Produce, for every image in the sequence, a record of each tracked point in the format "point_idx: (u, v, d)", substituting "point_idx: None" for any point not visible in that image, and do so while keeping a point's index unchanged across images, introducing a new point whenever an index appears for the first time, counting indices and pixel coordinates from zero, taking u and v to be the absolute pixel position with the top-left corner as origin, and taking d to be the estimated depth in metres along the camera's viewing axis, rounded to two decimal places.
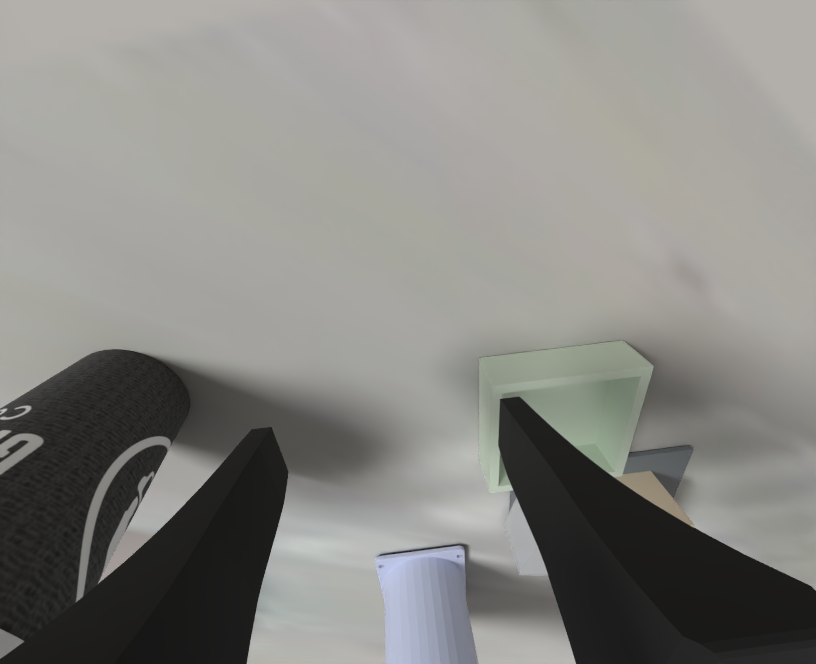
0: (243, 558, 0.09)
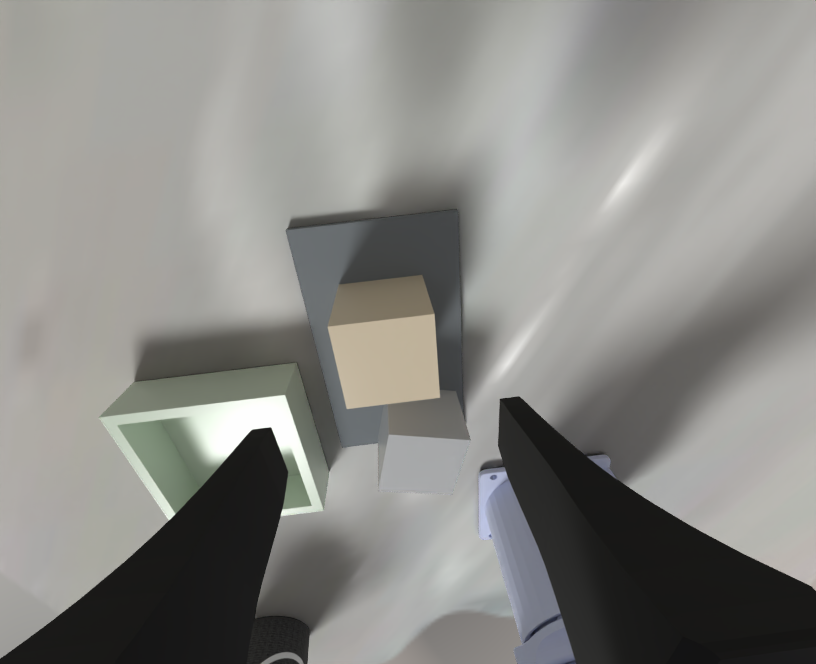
0: (243, 557, 0.09)
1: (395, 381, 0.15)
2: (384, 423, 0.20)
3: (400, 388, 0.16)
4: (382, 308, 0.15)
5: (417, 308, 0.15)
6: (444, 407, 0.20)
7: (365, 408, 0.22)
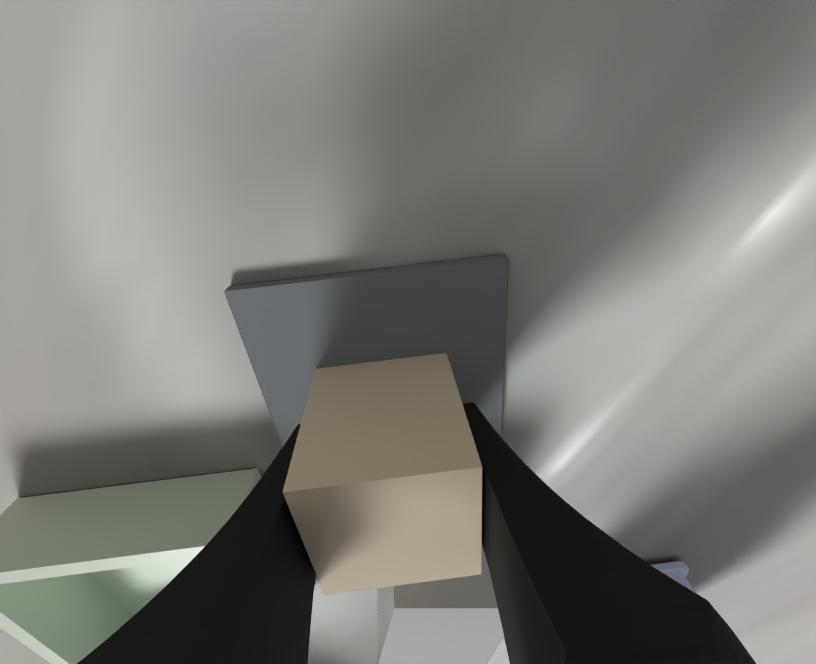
0: (302, 550, 0.09)
1: (407, 558, 0.09)
2: None
3: (415, 566, 0.09)
4: (384, 441, 0.08)
5: (448, 446, 0.08)
6: None
7: None
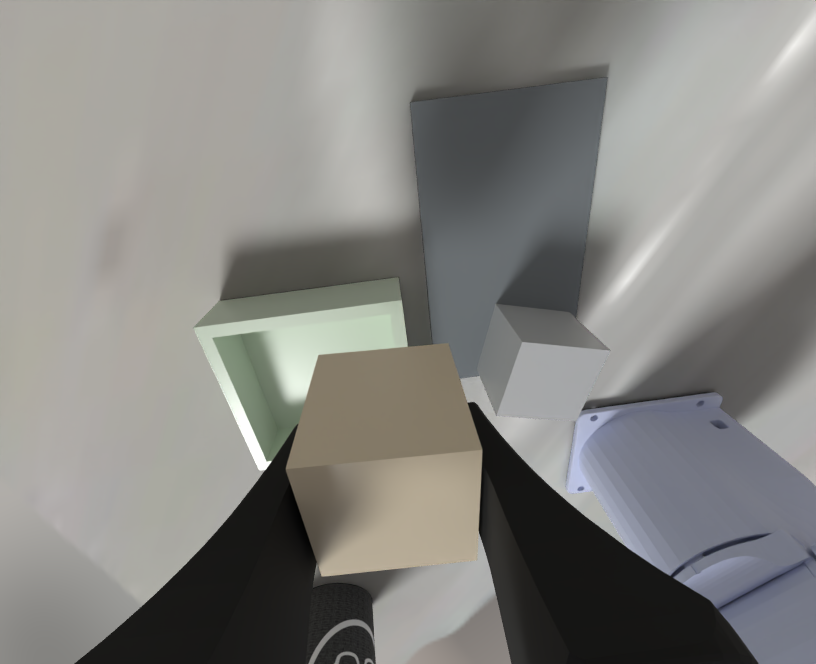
0: (300, 550, 0.09)
1: (405, 541, 0.09)
2: (498, 342, 0.18)
3: (413, 550, 0.09)
4: (386, 423, 0.09)
5: (449, 430, 0.08)
6: (566, 323, 0.18)
7: (468, 333, 0.20)
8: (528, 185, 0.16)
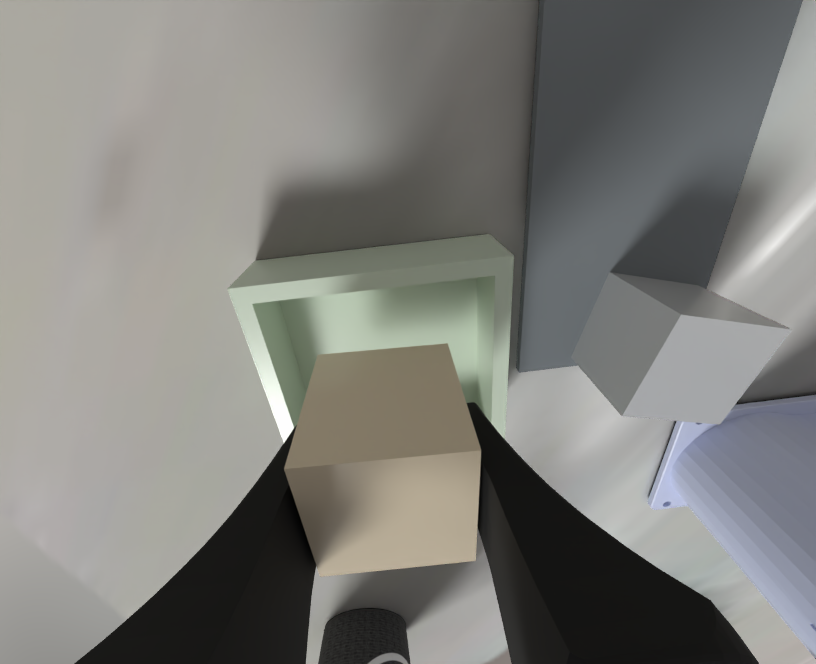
0: (300, 550, 0.09)
1: (403, 542, 0.09)
2: (620, 320, 0.14)
3: (411, 550, 0.09)
4: (384, 423, 0.09)
5: (448, 430, 0.08)
6: (708, 297, 0.14)
7: (568, 310, 0.15)
8: (682, 105, 0.12)
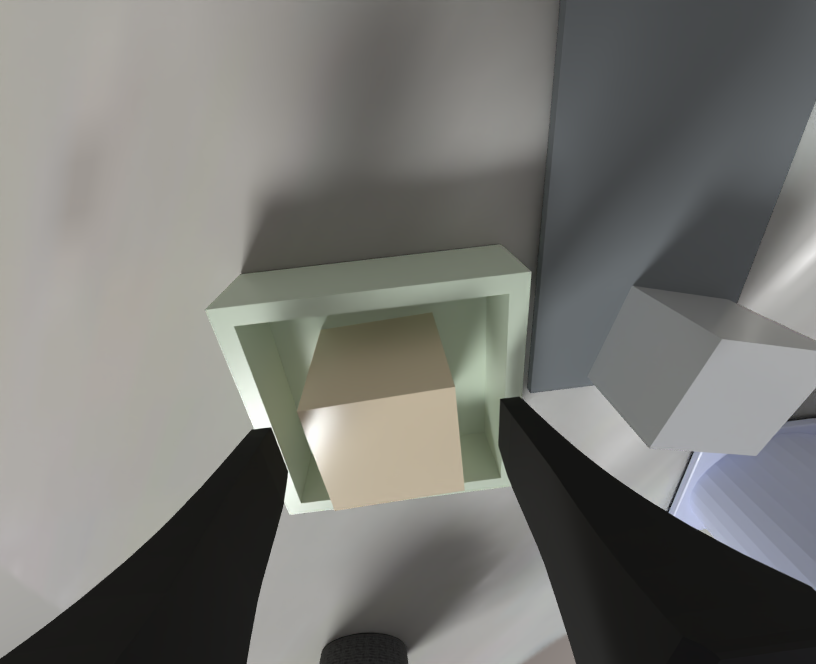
0: (243, 558, 0.09)
1: (401, 474, 0.11)
2: (646, 340, 0.12)
3: (408, 482, 0.11)
4: (377, 375, 0.10)
5: (429, 375, 0.10)
6: (743, 314, 0.12)
7: (585, 327, 0.14)
8: (720, 101, 0.11)
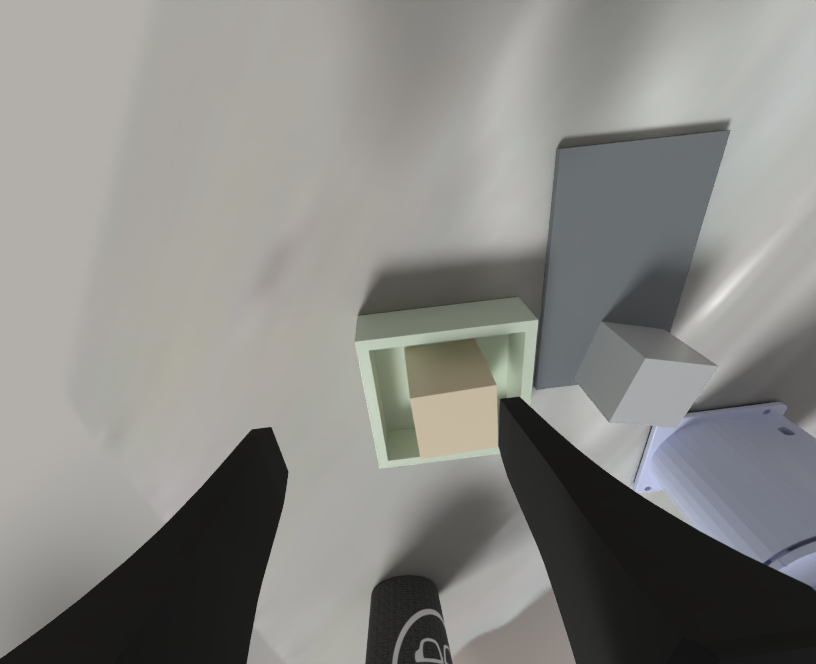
0: (243, 558, 0.09)
1: (462, 436, 0.19)
2: (608, 356, 0.20)
3: (465, 441, 0.19)
4: (450, 378, 0.18)
5: (480, 378, 0.18)
6: (668, 340, 0.20)
7: (572, 346, 0.22)
8: (647, 219, 0.18)
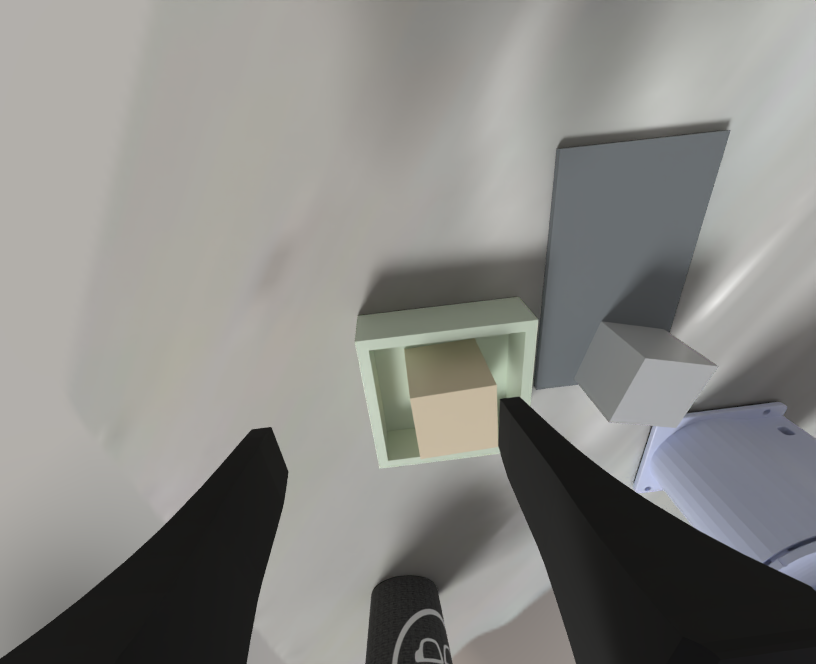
0: (243, 558, 0.09)
1: (462, 436, 0.19)
2: (608, 356, 0.20)
3: (465, 441, 0.19)
4: (450, 378, 0.18)
5: (480, 378, 0.18)
6: (668, 340, 0.20)
7: (572, 346, 0.22)
8: (647, 219, 0.18)
